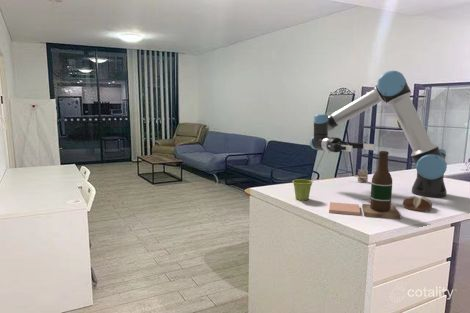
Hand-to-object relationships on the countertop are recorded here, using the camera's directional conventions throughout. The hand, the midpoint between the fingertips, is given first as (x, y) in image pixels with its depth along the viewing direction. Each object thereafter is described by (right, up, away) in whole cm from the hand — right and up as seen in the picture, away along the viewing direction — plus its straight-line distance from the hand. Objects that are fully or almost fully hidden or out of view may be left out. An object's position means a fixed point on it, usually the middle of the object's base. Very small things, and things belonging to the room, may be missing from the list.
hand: (363, 148), depth 149 cm
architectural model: (+17, -20, +45) cm, 52 cm away
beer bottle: (+1, -26, -15) cm, 30 cm away
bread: (+20, -26, -8) cm, 34 cm away
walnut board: (+1, -27, -15) cm, 31 cm away
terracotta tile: (-12, -26, -11) cm, 31 cm away
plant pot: (-27, -24, +6) cm, 37 cm away
